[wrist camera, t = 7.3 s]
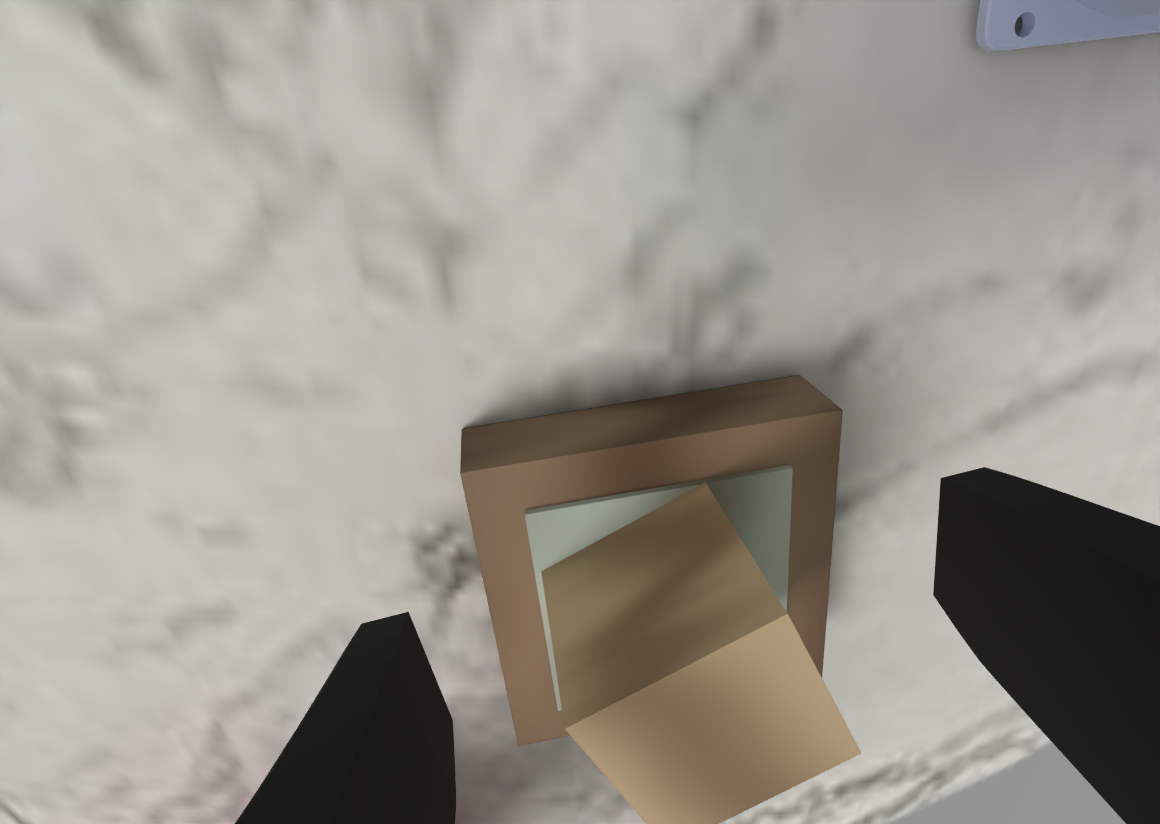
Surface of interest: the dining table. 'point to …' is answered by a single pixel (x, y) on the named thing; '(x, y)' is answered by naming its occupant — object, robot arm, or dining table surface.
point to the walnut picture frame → (648, 506)
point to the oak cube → (687, 669)
